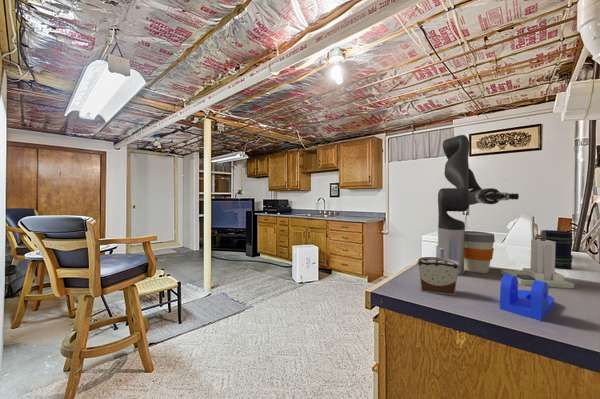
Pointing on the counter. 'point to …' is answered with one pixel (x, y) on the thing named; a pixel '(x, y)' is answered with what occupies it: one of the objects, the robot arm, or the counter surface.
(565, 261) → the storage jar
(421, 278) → the food container
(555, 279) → the board
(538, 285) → the bracket
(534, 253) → the plug
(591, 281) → the counter surface
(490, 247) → the reusable coffee cup
